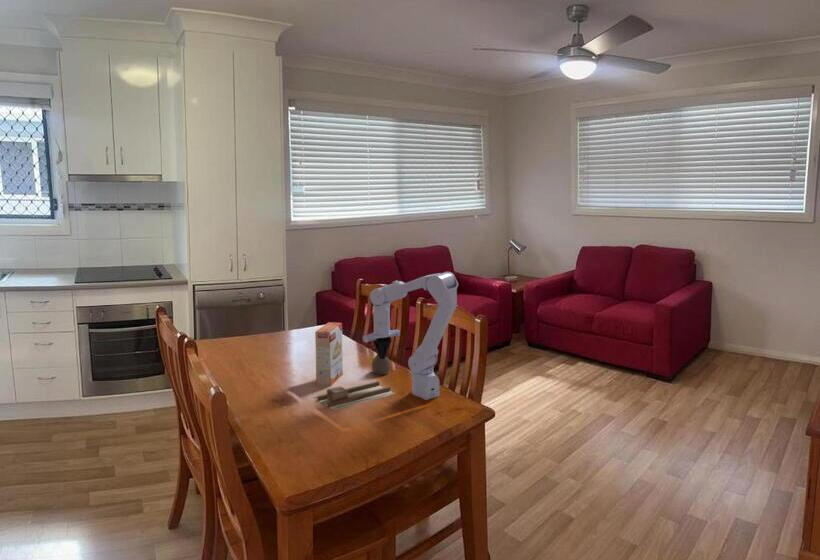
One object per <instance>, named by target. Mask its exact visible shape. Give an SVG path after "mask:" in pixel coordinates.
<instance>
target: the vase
mask: <svg viewBox="0 0 820 560" xmlns="http://www.w3.org/2000/svg"><path fill="white" fill-rule="evenodd" d="M390 370H391V362H390V360H389V358H388V357H387V356H386V357H385V359H380V358H379V355H378V352H377V353H376V355H375V357H374V358H373V359H372V362H371V371H372V372H373V374H374V375H376V376H384V375H388V374H389V373H390Z"/></svg>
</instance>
